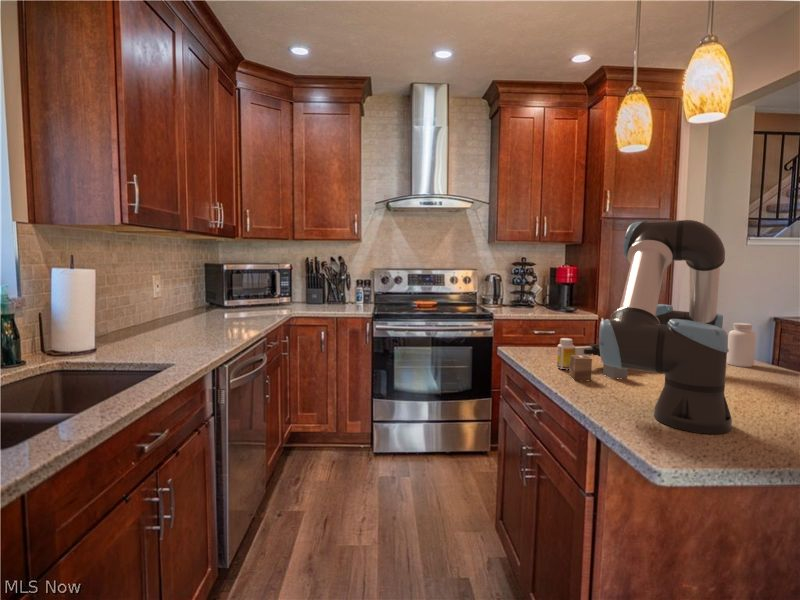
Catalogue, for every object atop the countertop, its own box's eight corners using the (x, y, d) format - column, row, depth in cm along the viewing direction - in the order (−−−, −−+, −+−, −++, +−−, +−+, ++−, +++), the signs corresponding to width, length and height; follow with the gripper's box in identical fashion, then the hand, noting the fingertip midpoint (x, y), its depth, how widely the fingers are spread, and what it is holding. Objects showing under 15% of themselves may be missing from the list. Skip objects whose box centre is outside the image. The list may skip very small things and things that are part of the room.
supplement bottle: (577, 369, 156) (578, 339, 155) (568, 371, 153) (569, 341, 152) (562, 366, 160) (563, 337, 159) (553, 368, 157) (554, 338, 156)
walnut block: (590, 381, 141) (592, 358, 140) (574, 380, 141) (575, 357, 141) (585, 377, 146) (586, 354, 145) (569, 376, 146) (570, 354, 146)
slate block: (627, 379, 144) (628, 356, 144) (613, 379, 143) (614, 357, 143) (616, 375, 149) (617, 353, 148) (602, 375, 148) (604, 353, 147)
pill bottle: (731, 366, 163) (734, 324, 161) (722, 361, 170) (725, 321, 169) (757, 368, 160) (761, 325, 159) (747, 363, 168) (751, 322, 167)
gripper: (646, 363, 155) (584, 366, 151) (620, 355, 168) (562, 357, 163) (648, 341, 155) (585, 343, 150) (622, 335, 168) (563, 337, 163)
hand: (573, 351), depth 157 cm, fingers closed
